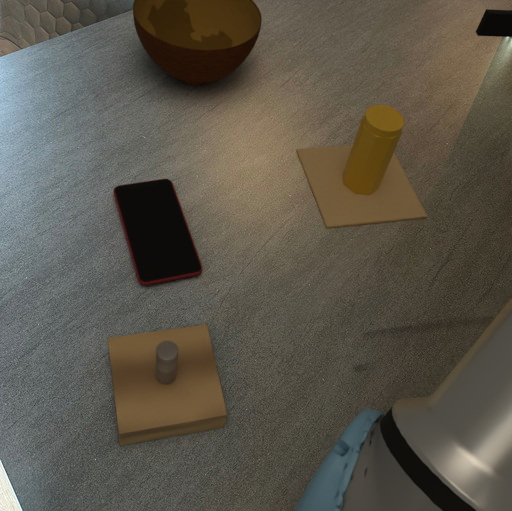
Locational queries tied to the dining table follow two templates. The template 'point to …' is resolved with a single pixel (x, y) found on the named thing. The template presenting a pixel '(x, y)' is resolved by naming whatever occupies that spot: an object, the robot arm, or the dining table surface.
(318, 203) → the mat
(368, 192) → the jar
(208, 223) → the dining table surface
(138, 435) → the stand
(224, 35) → the bowl
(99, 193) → the dining table surface
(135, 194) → the smartphone
